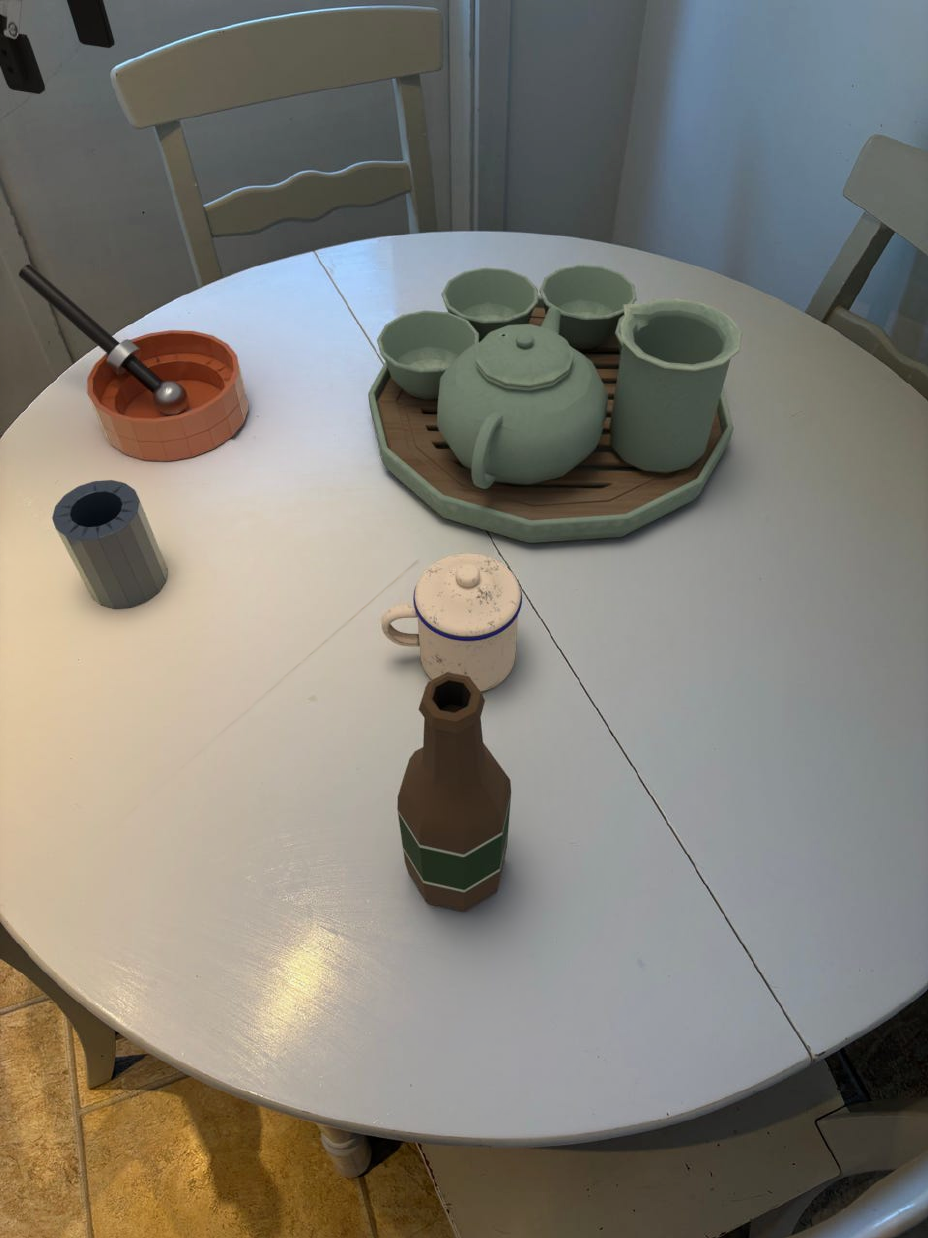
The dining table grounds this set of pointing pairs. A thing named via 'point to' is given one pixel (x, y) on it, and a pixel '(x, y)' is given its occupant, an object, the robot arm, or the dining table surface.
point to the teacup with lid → (463, 619)
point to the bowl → (203, 375)
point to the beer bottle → (454, 800)
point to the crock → (111, 543)
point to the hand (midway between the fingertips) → (64, 66)
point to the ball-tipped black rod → (111, 346)
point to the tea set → (554, 403)
